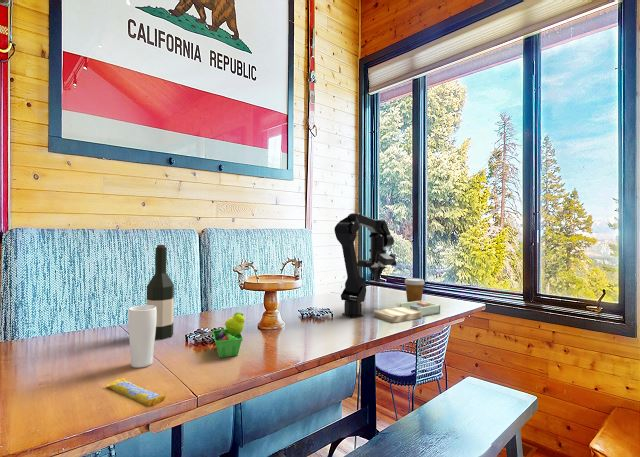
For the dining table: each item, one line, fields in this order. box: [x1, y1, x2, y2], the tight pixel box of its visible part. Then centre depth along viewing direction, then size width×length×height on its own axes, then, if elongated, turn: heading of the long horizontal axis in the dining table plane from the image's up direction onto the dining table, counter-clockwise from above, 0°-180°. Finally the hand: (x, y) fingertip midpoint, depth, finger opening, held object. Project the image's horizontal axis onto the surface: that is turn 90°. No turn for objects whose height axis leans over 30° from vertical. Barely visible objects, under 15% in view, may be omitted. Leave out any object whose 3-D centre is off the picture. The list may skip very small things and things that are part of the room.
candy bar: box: [105, 377, 167, 407], centre depth 81 cm, size 17×4×2 cm, turn 58°
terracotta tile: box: [417, 301, 430, 307], centre depth 161 cm, size 4×4×3 cm
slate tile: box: [410, 305, 424, 311], centre depth 159 cm, size 4×4×3 cm
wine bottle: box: [146, 244, 175, 341], centre depth 122 cm, size 8×8×30 cm
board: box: [373, 306, 423, 324], centre depth 153 cm, size 16×11×2 cm
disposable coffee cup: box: [404, 277, 426, 302], centre depth 178 cm, size 10×10×12 cm
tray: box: [399, 300, 441, 317], centre depth 162 cm, size 13×11×4 cm
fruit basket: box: [212, 311, 246, 358], centre depth 109 cm, size 11×9×11 cm
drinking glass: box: [127, 304, 157, 369], centre depth 97 cm, size 7×7×15 cm
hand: (376, 281), depth 168 cm, fingers closed
